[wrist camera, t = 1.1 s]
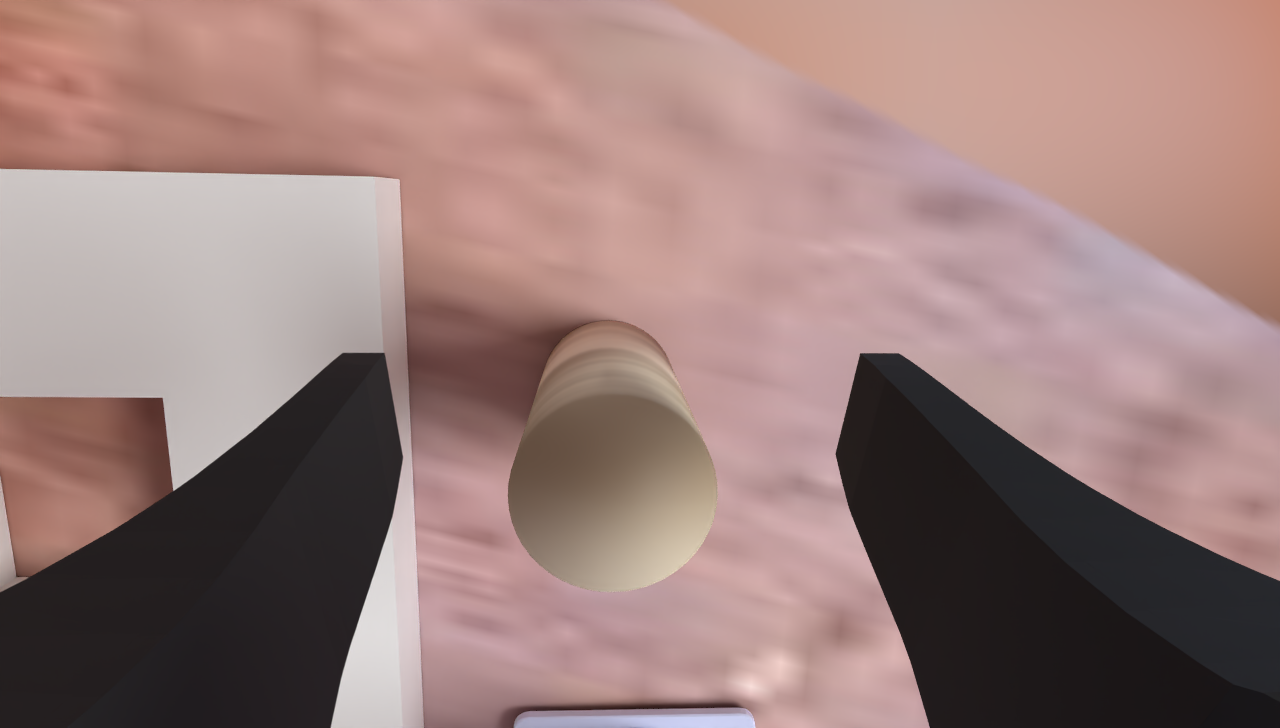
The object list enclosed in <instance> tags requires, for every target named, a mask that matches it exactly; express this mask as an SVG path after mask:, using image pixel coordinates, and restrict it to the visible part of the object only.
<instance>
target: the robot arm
mask: <svg viewBox="0 0 1280 728" xmlns="http://www.w3.org/2000/svg"><path fill="white" fill-rule="evenodd" d="M836 458H837V462H838V466H839V471H840V475H841V479H842V483H843V487H844V491H845V495H846V498H847V502H848V506H849V509H850V512H851V515H852V517H853V520H854V522H855V525H856V527H857V530H858V532H859V535H860V537H861V540H862V542H863V545H864V547H865V550H866V552H867V554H868V557H869V559H870V562H871V564H872V566H873V569H874V571H875V574H876V576H877V578H878V581H879V583H880V586H881V588H882V590H883V593H884V595H885V598H886V600H887V603H888V605H889V607H890V610H891V612H892V615H893V617H894V619H895V622H896V624H897V627H898V629H899V631H900V634H901V637H902V639H903V642H904V645H905V648H906V650H907V653H908V656H909V659H910V661H911V665H912V668H913V671H914V675H915V678H916V682H917V685H918V688H919V692H920V695H921V699H922V702H923V705H924V709H925V712H926V716H927V719H928V722H929V726H930V728H1280V581H1278V580H1276V579H1273V578H1271V577H1268V576H1266V575H1264V574H1261V573H1259V572H1257V571H1254V570H1252V569H1250V568H1248V567H1245V566H1243V565H1241V564H1239V563H1236V562H1234V561H1232V560H1229V559H1227V558H1225V557H1223V556H1221V555H1218V554H1216V553H1214V552H1212V551H1210V550H1208V549H1206V548H1204V547H1202V546H1200V545H1198V544H1196V543H1194V542H1192V541H1189V540H1187V539H1185V538H1183V537H1181V536H1179V535H1177V534H1175V533H1173V532H1171V531H1169V530H1167V529H1165V528H1163V527H1161V526H1159V525H1157V524H1155V523H1153V522H1151V521H1149V520H1148V519H1146V518H1144V517H1142V516H1140V515H1138V514H1136V513H1134V512H1133V511H1131V510H1129V509H1127V508H1126V507H1124V506H1122V505H1120V504H1119V503H1117V502H1115V501H1113V500H1112V499H1110V498H1108V497H1106V496H1104V495H1103V494H1101V493H1099V492H1097V491H1096V490H1094V489H1092V488H1090V487H1089V486H1087V485H1086V484H1084V483H1082V482H1081V481H1079V480H1077V479H1076V478H1074V477H1072V476H1071V475H1069V474H1068V473H1066V472H1065V471H1063V470H1061V469H1060V468H1058V467H1057V466H1055V465H1054V464H1052V463H1051V462H1049V461H1048V460H1046V459H1045V458H1043V457H1042V456H1040V455H1039V454H1037V453H1036V452H1034V451H1033V450H1031V449H1030V448H1028V447H1027V446H1025V445H1024V444H1022V443H1021V442H1020V441H1018V440H1017V439H1015V438H1014V437H1012V436H1011V435H1010V434H1008V433H1007V432H1005V431H1004V430H1003V429H1001V428H1000V427H999V426H997V425H996V424H994V423H993V422H992V421H990V420H989V419H988V418H986V417H985V416H984V415H982V414H981V413H979V412H978V411H977V410H975V409H974V408H973V407H971V406H970V405H969V404H967V403H966V402H965V401H963V400H962V399H961V398H960V397H958V396H957V395H956V394H954V393H953V392H952V391H950V390H949V389H948V388H946V387H945V386H944V385H942V384H941V383H940V382H938V381H937V380H936V379H934V378H933V377H932V376H930V375H929V374H928V373H926V372H925V371H924V370H922V369H921V368H920V367H918V366H917V365H915V364H914V363H913V362H911V361H910V360H908V359H907V358H905V357H904V356H902V355H900V354H892V353H860V357H859V361H858V365H857V369H856V373H855V377H854V381H853V385H852V389H851V394H850V398H849V402H848V406H847V410H846V414H845V418H844V422H843V426H842V430H841V434H840V438H839V442H838V446H837V450H836ZM402 462H403V454H402V448H401V442H400V437H399V431H398V425H397V419H396V414H395V408H394V402H393V397H392V391H391V385H390V380H389V374H388V368H387V363H386V357H385V353H342V354H341V355H339V356H338V357H337V358H336V359H334V360H333V361H332V362H331V363H330V364H329V365H327V366H326V367H325V368H324V369H323V370H322V371H321V372H320V373H318V374H317V375H316V376H315V377H314V378H313V379H312V380H311V381H309V382H308V383H307V384H306V385H305V386H304V387H303V388H302V389H301V390H299V391H298V392H297V393H296V394H295V395H294V396H293V397H292V398H290V399H289V400H288V401H287V402H286V403H285V404H283V405H282V406H281V407H280V408H279V409H278V410H276V411H275V412H274V413H273V414H272V415H271V416H269V417H268V418H267V419H266V420H265V421H264V422H262V423H261V424H260V425H259V426H258V427H257V428H255V429H254V430H253V431H252V432H251V433H249V434H248V435H247V436H246V437H244V438H243V439H242V440H240V441H239V442H238V443H237V444H235V445H234V446H233V447H231V448H230V449H229V450H228V451H226V452H225V453H224V454H222V455H221V456H220V457H218V458H217V459H216V460H215V461H213V462H212V463H211V464H209V465H208V466H207V467H206V468H204V469H203V470H202V471H200V472H199V473H198V474H197V475H195V476H194V477H193V478H191V479H190V480H188V481H187V482H186V483H184V484H183V485H181V486H180V487H179V488H177V489H176V490H174V491H173V492H171V493H170V494H168V495H167V496H165V497H164V498H163V499H161V500H160V501H158V502H156V503H155V504H153V505H152V506H150V507H149V508H147V509H146V510H144V511H143V512H141V513H139V514H138V515H136V516H135V517H133V518H132V519H130V520H129V521H127V522H126V523H124V524H122V525H121V526H119V527H117V528H116V529H114V530H112V531H111V532H109V533H107V534H106V535H104V536H102V537H100V538H99V539H97V540H95V541H93V542H91V543H90V544H88V545H86V546H84V547H83V548H81V549H79V550H77V551H76V552H74V553H72V554H70V555H68V556H67V557H65V558H63V559H61V560H60V561H58V562H56V563H54V564H53V565H51V566H49V567H47V568H45V569H44V570H42V571H40V572H38V573H37V574H35V575H33V576H31V577H29V578H27V579H25V580H23V581H21V582H19V583H17V584H15V585H13V586H11V587H9V588H7V589H5V590H3V591H1V592H0V728H331V724H332V719H333V714H334V710H335V705H336V701H337V696H338V691H339V687H340V682H341V678H342V674H343V670H344V667H345V663H346V660H347V656H348V653H349V649H350V646H351V643H352V640H353V637H354V634H355V631H356V628H357V624H358V621H359V618H360V615H361V612H362V609H363V606H364V603H365V600H366V597H367V594H368V591H369V588H370V585H371V582H372V579H373V576H374V573H375V570H376V567H377V564H378V561H379V558H380V555H381V551H382V548H383V545H384V542H385V539H386V536H387V533H388V530H389V526H390V523H391V520H392V517H393V512H394V507H395V502H396V497H397V491H398V486H399V480H400V474H401V468H402ZM514 728H755V722H754V718H753V715H752V714H751V712H750V711H748V710H747V709H745V708H687V709H628V710H569V711H527V712H523V713H521V714H520V715H518V716H517V718H516V719H515V723H514Z"/></svg>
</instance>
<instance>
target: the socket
mask: <svg viewBox="0 0 1280 728" xmlns="http://www.w3.org/2000/svg"><path fill="white" fill-rule="evenodd" d="M342 353H385V357H386V363H387V368H388V374H389V380H390V385H391V391H392V397H393V402H394V408H395V414H396V419H397V425H398V431H399V437H400V442H401V448H402V454H403V462H402V468H401V474H400V480H399V486H398V491H397V497H396V502H395V507H394V512H393V517H392V520H391V523H390V526H389V530H388V533H387V536H386V539H385V542H384V545H383V548H382V551H381V555H380V558H379V561H378V564H377V567H376V570H375V573H374V576H373V579H372V582H371V585H370V588H369V591H368V594H367V597H366V600H365V603H364V606H363V609H362V612H361V615H360V618H359V621H358V624H357V628H356V631H355V634H354V637H353V640H352V643H351V646H350V649H349V653H348V656H347V660H346V663H345V667H344V670H343V674H342V678H341V682H340V687H339V691H338V696H337V701H336V705H335V710H334V714H333V719H332V724H331V728H424V715H423V692H422V670H421V648H420V625H419V603H418V581H417V558H416V536H415V514H414V491H413V469H412V447H411V424H410V402H409V380H408V357H407V335H406V313H405V290H404V268H403V246H402V223H401V201H400V179H392V178H382V177H368V176H320V175H271V174H223V173H174V172H126V171H77V170H29V169H0V397H123V398H163V404H164V413H165V422H166V430H167V439H168V448H169V457H170V466H171V475H172V483H173V491H174V490H176V489H177V488H179V487H180V486H181V485H183V484H184V483H186V482H187V481H188V480H190V479H191V478H193V477H194V476H195V475H197V474H198V473H199V472H200V471H202V470H203V469H204V468H206V467H207V466H208V465H209V464H211V463H212V462H213V461H215V460H216V459H217V458H218V457H220V456H221V455H222V454H224V453H225V452H226V451H228V450H229V449H230V448H231V447H233V446H234V445H235V444H237V443H238V442H239V441H240V440H242V439H243V438H244V437H246V436H247V435H248V434H249V433H251V432H252V431H253V430H254V429H255V428H257V427H258V426H259V425H260V424H261V423H262V422H264V421H265V420H266V419H267V418H268V417H269V416H271V415H272V414H273V413H274V412H275V411H276V410H278V409H279V408H280V407H281V406H282V405H283V404H285V403H286V402H287V401H288V400H289V399H290V398H292V397H293V396H294V395H295V394H296V393H297V392H298V391H299V390H301V389H302V388H303V387H304V386H305V385H306V384H307V383H308V382H309V381H311V380H312V379H313V378H314V377H315V376H316V375H317V374H318V373H320V372H321V371H322V370H323V369H324V368H325V367H326V366H327V365H329V364H330V363H331V362H332V361H333V360H334V359H336V358H337V357H338V356H339V355H341V354H342ZM27 578H29V577H16V570H15V564H14V558H13V552H12V546H11V540H10V533H9V527H8V521H7V515H6V509H5V502H4V496H3V490H2V484H1V478H0V592H1V591H3V590H5V589H7V588H9V587H11V586H13V585H15V584H17V583H19V582H21V581H23V580H25V579H27Z"/></svg>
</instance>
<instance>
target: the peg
mask: <svg viewBox="0 0 1280 728" xmlns="http://www.w3.org/2000/svg"><path fill="white" fill-rule="evenodd" d="M717 496H718V495H717V479H716V473H715V469H714V465H713V462H712V459H711V457H710V454H709V452H708V450H707V447H706V445H705V443H704V440H703V438H702V436H701V433H700V431H699V429H698V427H697V424H696V422H695V420H694V417H693V415H692V413H691V410H690V408H689V406H688V403H687V401H686V399H685V397H684V394H683V392H682V390H681V387H680V385H679V383H678V380H677V378H676V376H675V374H674V371H673V369H672V367H671V364H670V362H669V360H668V358H667V356H666V354H665V352H664V350H663V349H662V347H661V346H660V345H659V344H658V343H657V341H656V340H655V339H654V338H652V337H651V336H650V335H649V334H648V333H646V332H645V331H643V330H642V329H640V328H638V327H636V326H633V325H631V324H628V323H624V322H619V321H598V322H592V323H589V324H586V325H583V326H581V327H579V328H577V329H575V330H573V331H572V332H570V333H569V334H567V335H566V336H565V337H564V338H563V339H562V340H561V341H560V342H559V343H558V344H557V345H556V346H555V348H554V349H553V351H552V352H551V354H550V356H549V358H548V360H547V363H546V366H545V369H544V372H543V375H542V378H541V381H540V384H539V387H538V390H537V393H536V396H535V399H534V402H533V405H532V408H531V411H530V414H529V417H528V420H527V423H526V427H525V430H524V433H523V436H522V439H521V442H520V445H519V448H518V451H517V454H516V457H515V460H514V463H513V466H512V469H511V474H510V479H509V485H508V503H509V511H510V516H511V520H512V523H513V526H514V529H515V531H516V534H517V536H518V537H519V539H520V541H521V543H522V545H523V546H524V548H525V549H526V550H527V552H528V553H529V554H530V556H531V557H532V558H533V559H534V560H535V561H536V562H537V563H538V564H539V565H540V566H541V567H543V568H544V569H545V570H546V571H548V572H549V573H550V574H552V575H554V576H555V577H557V578H559V579H560V580H562V581H564V582H567V583H569V584H571V585H574V586H577V587H580V588H583V589H587V590H593V591H599V592H623V591H630V590H635V589H640V588H643V587H646V586H649V585H652V584H654V583H656V582H659V581H661V580H663V579H665V578H666V577H668V576H670V575H671V574H673V573H674V572H676V571H677V570H678V569H680V568H681V567H682V566H683V565H685V564H686V563H687V562H688V561H689V559H690V558H691V557H692V556H693V555H694V554H695V553H696V552H697V550H698V549H699V548H700V546H701V545H702V543H703V541H704V540H705V538H706V536H707V534H708V532H709V530H710V527H711V525H712V522H713V519H714V515H715V511H716V505H717Z"/></svg>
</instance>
